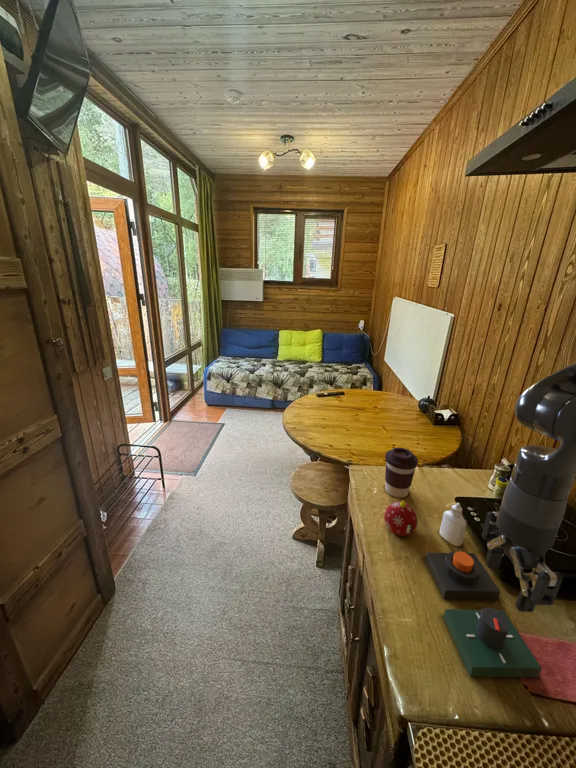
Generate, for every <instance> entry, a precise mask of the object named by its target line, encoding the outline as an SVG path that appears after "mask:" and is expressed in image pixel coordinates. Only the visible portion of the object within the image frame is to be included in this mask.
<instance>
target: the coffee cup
mask: <svg viewBox="0 0 576 768" xmlns="http://www.w3.org/2000/svg"><path fill="white" fill-rule="evenodd" d="M384 455H385V456H384V460H385V462H386V463H385V472H384V473H385V474H384V481H385V483H384V490H385V492H386V493H387V494H388V495H390V496H392V497H394V498H398V499H399V498H400V499H401V498H405V497H408V495H409V492H410V488H411V486H412V482H413V479H414V475H415V472H416V468H417V467H418V464H419V458H418V456H416V455H415V454H414V453H413V452H412V451H411V450H410V449H408V448H405V447H393V448H392V449H389V450H387V451H386V452H385V454H384Z"/></svg>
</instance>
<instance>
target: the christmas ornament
mask: <svg viewBox="0 0 576 768" xmlns="http://www.w3.org/2000/svg"><path fill="white" fill-rule="evenodd" d="M384 522H385V524H386V527H387V528H388V530H390V532H392V533H393V534H395V535H397V536H403V537H405V536H409V535H411V534H412V533H414V532H415V530H416V529H417V526H418V516H417V513H416V511H415V510H414V509H413V507H412V506H410V504H408V503H406V502H405V500H401V501H394V502H391V503H390V504H388V506H387V507H386V508H385V511H384Z"/></svg>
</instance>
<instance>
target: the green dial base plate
mask: <svg viewBox="0 0 576 768" xmlns="http://www.w3.org/2000/svg"><path fill="white" fill-rule="evenodd" d="M496 610H497V611H499V612H500V613H501V614H502V615H503V616H504V617H505V618H506V619H507V621H508V623H509V631H508V633H507V636H506V639H505V642H504V645H503V647H502V648H500V649H493V648H491V647H489V646H487V645H486V644H485V643H483V642H482V641H481V639H480V638H479V636H478V634H477V631H476V628H477V625H478V621H479V618H480V614H481V611H482V609H448V608H447V609H445V610H444V613H443V620H444V623H445V625H446V627H447V629H448V631H449V633H450V636H451V638H452V640H453V642H454V644H455V646H456V648H457V650H458V653H459V654H460V657H461V659H462V661H463V663H464V666H465V668H466V671H467V672H468V675H469V676H470V677H498V678H499V677H501V678H502V677H503V678H504V677H505V678H506V677H507V678H508V677H509V678H539V676H540V675H541V671H542V666H541V665H540V663H539V662H538V660H537V659H536V657H535V656H534V654H533V653H532V651H531V649H530V648H529V647H528V645H527V644H526V642H525V640H524V639H523V637H522V635H521V634H520V633H519V631H518V630H517V628H516V626H515V625H514V623H513V622H512V621H511V619H510V618H509V616H508V615H507V613H506V612H505V610H503V609H496Z"/></svg>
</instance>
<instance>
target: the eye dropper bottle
mask: <svg viewBox="0 0 576 768" xmlns="http://www.w3.org/2000/svg"><path fill="white" fill-rule="evenodd" d="M462 513H463V508H462V506H461V503H460V502H456V503H455V504H452V505H451V509H449V510H445V511H444V512H443V514H442V519H441V523H440V527H439V532H438V533H439V535H440V536H441V537H442V538H443V539H444V540H445V541H447V543H449V544H451V545H453V546H455V547H460V546H462V544H463V541H464V538H465V537H464V536H465V533H466V529H467V521H466V520H465V519H464V517H463V516H462Z"/></svg>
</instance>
